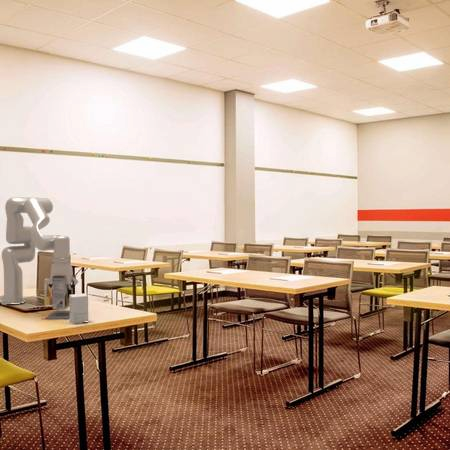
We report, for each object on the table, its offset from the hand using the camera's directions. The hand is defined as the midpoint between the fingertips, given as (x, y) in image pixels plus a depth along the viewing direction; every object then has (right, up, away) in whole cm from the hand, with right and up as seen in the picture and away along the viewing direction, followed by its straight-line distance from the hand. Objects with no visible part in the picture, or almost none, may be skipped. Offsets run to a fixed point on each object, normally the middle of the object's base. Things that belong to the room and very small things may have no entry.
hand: (62, 296), depth 253 cm
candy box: (-11, -8, +21) cm, 25 cm away
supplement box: (+12, -10, -13) cm, 21 cm away
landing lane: (-1, -9, 0) cm, 9 cm away
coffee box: (0, -5, 0) cm, 5 cm away
